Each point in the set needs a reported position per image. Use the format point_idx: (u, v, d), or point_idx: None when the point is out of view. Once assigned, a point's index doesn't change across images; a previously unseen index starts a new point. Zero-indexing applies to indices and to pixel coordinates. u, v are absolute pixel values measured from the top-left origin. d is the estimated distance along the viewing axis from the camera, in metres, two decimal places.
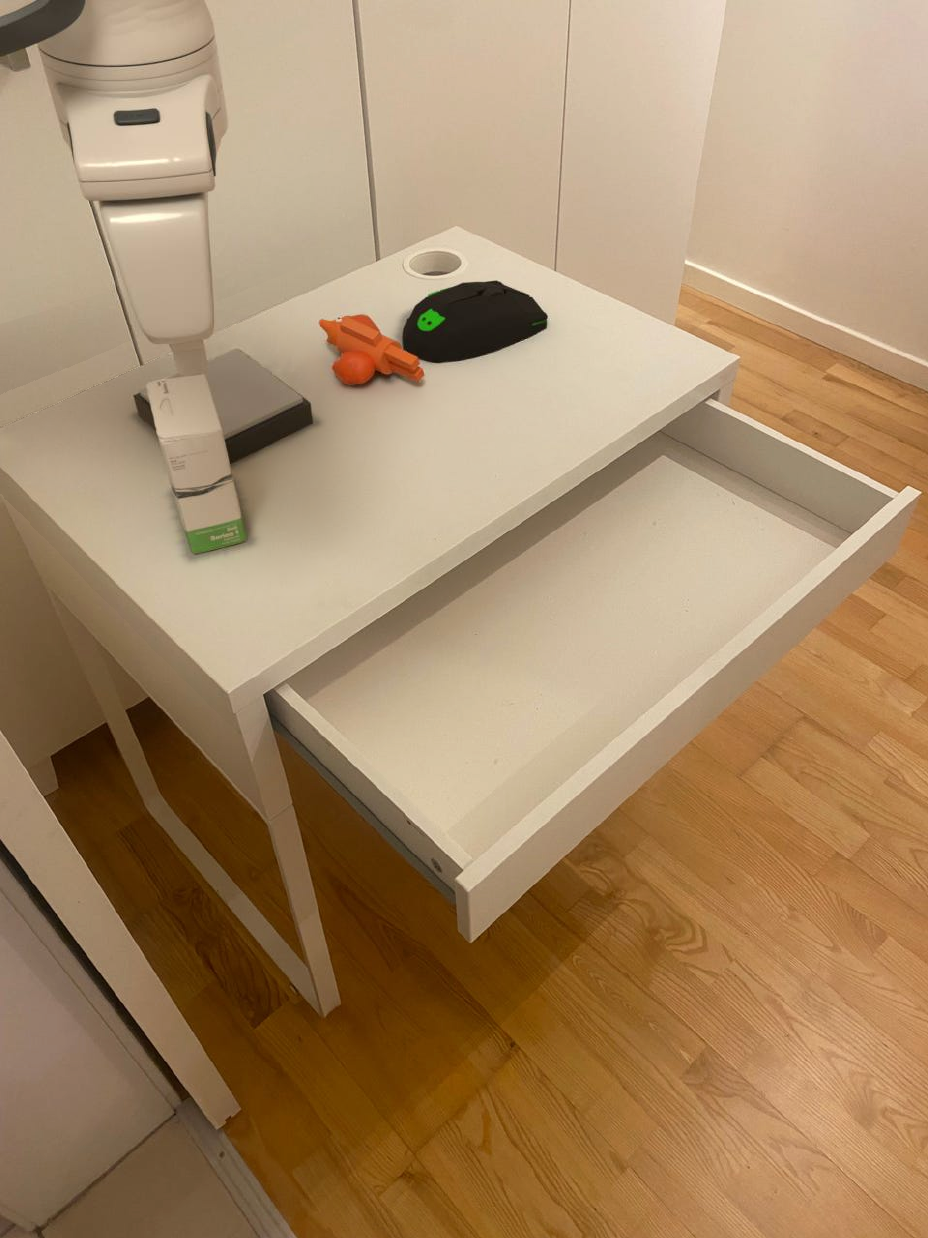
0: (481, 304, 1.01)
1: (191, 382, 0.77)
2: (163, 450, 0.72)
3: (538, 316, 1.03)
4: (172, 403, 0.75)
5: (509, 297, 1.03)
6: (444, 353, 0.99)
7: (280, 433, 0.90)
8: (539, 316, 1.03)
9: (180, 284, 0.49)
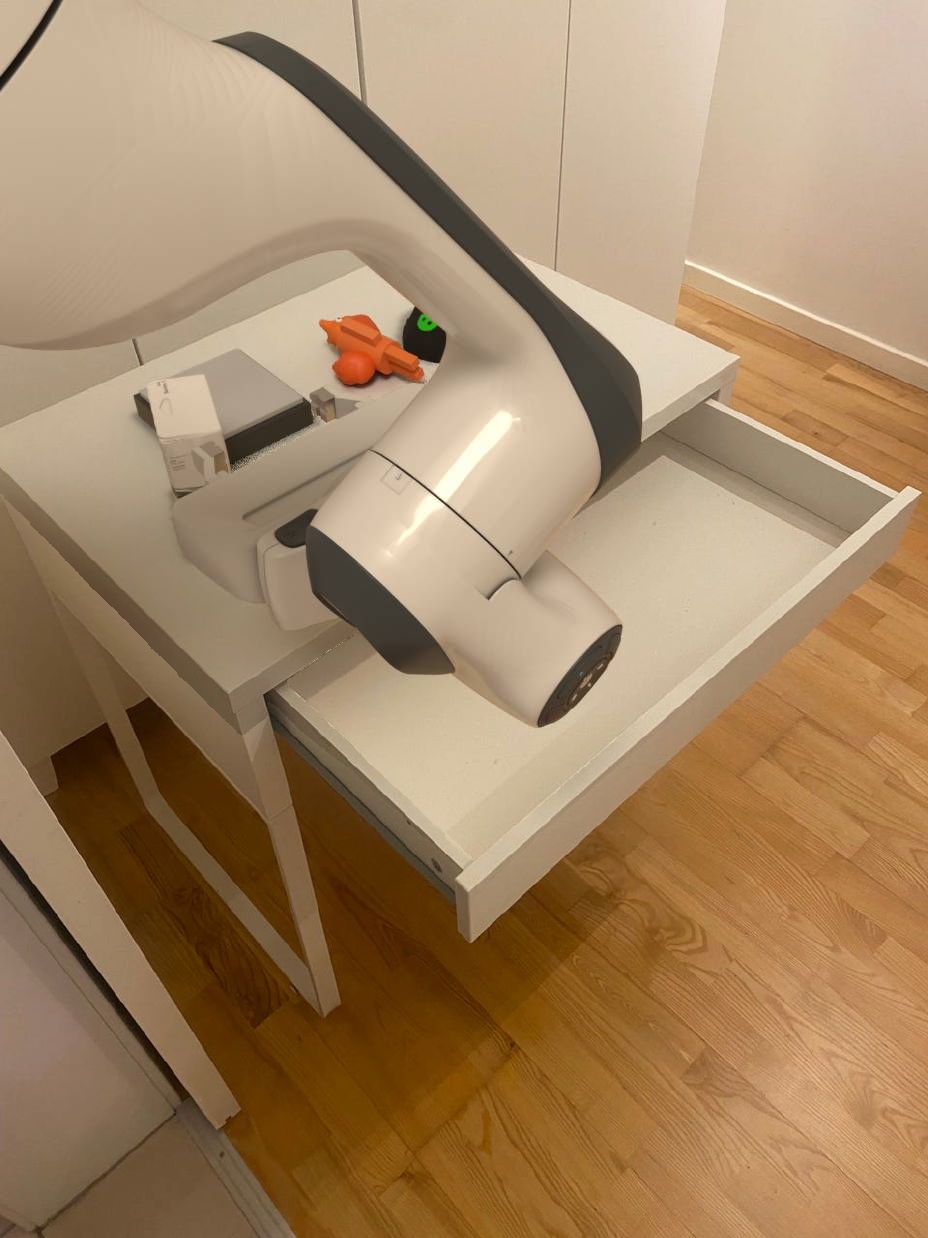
0: None
1: (191, 382, 0.77)
2: (163, 450, 0.72)
3: None
4: (172, 403, 0.75)
5: None
6: None
7: (280, 433, 0.90)
8: None
9: (205, 563, 0.57)
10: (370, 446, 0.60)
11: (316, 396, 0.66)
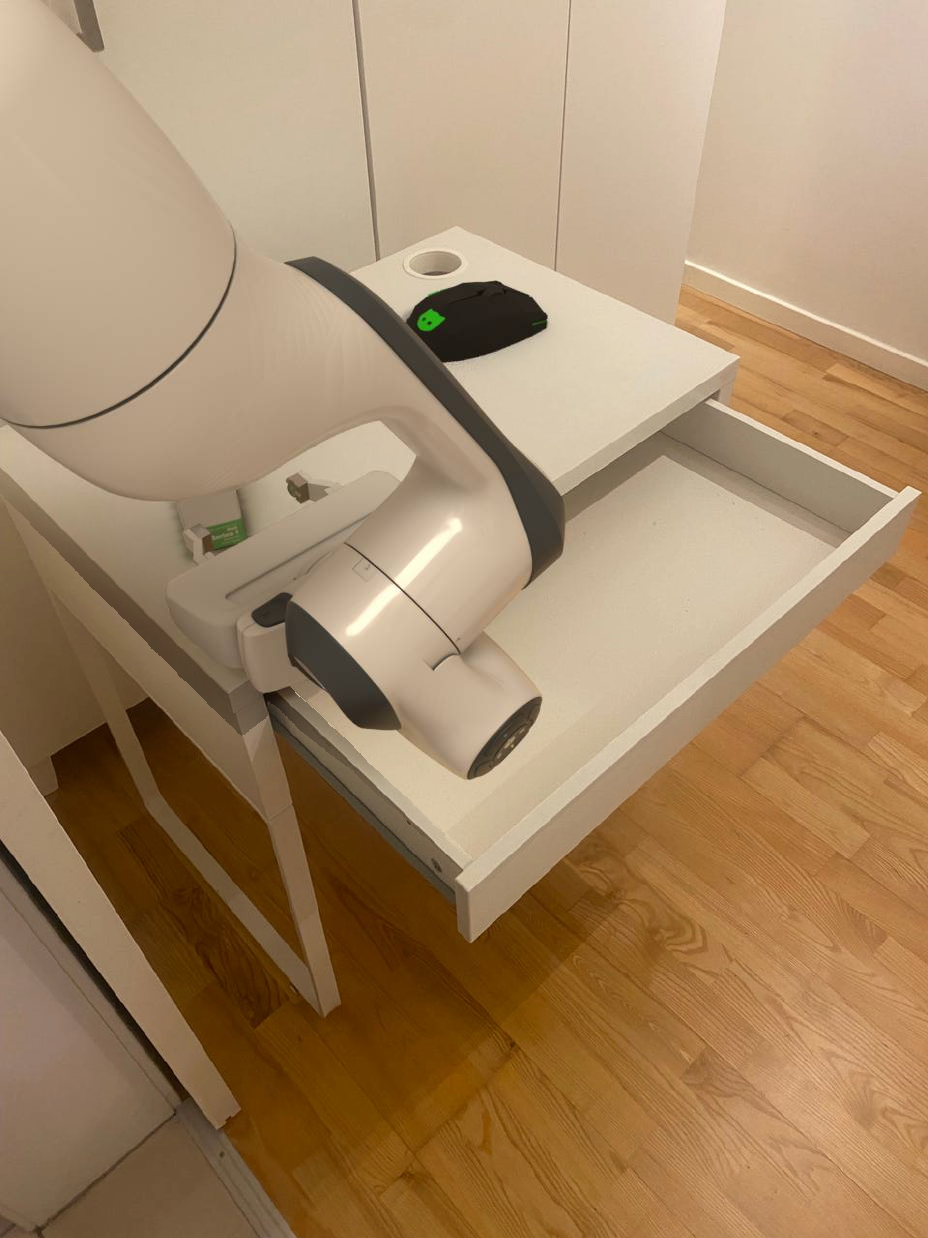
0: (481, 304, 1.01)
1: None
2: None
3: (538, 316, 1.03)
4: None
5: (509, 297, 1.03)
6: (444, 353, 0.99)
7: None
8: (539, 316, 1.03)
9: (193, 635, 0.67)
10: (336, 531, 0.71)
11: (291, 481, 0.76)
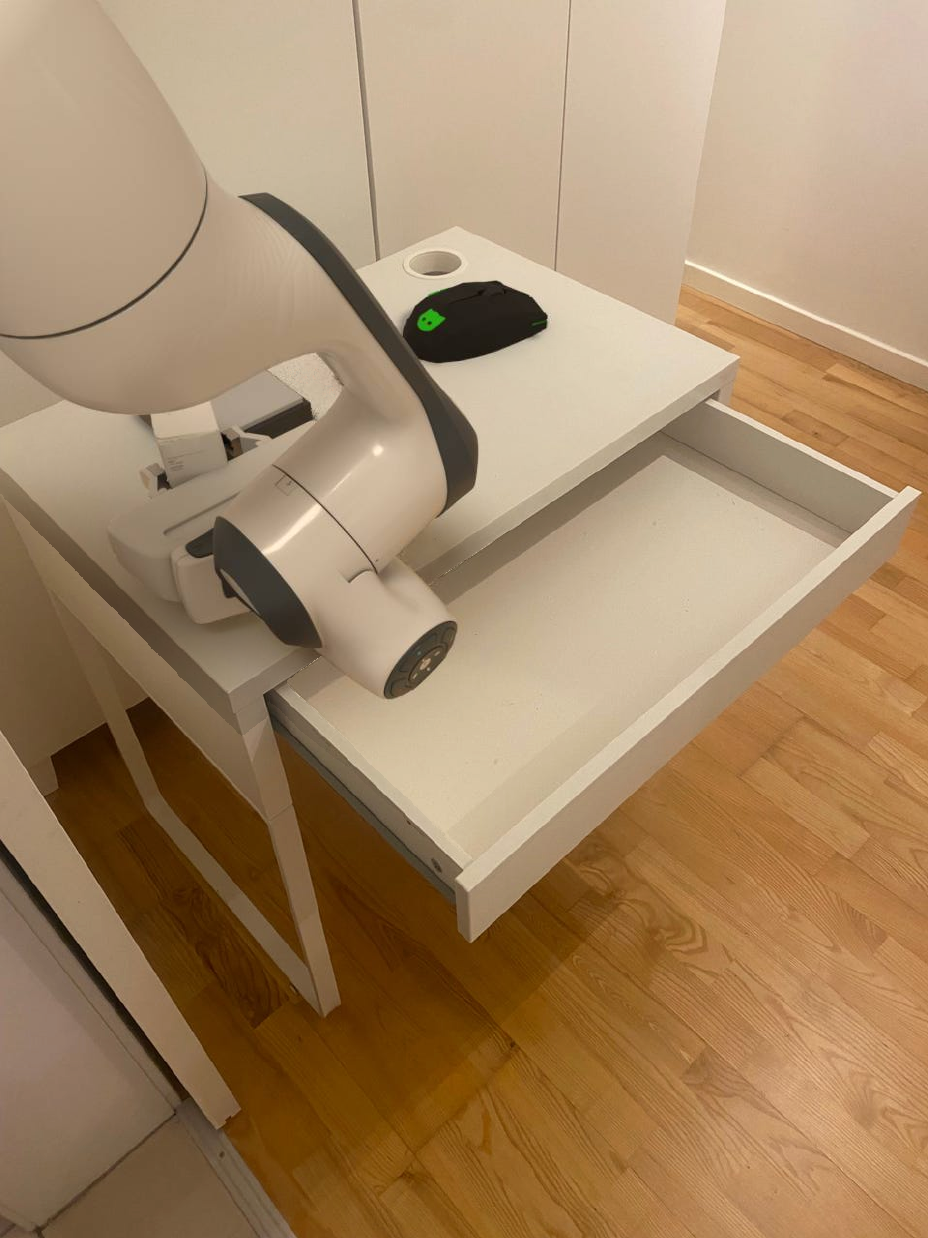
0: (481, 304, 1.01)
1: None
2: (161, 451, 0.72)
3: (538, 316, 1.03)
4: None
5: (509, 297, 1.03)
6: (444, 353, 0.99)
7: (280, 433, 0.90)
8: (539, 316, 1.03)
9: (134, 569, 0.71)
10: None
11: (225, 435, 0.79)
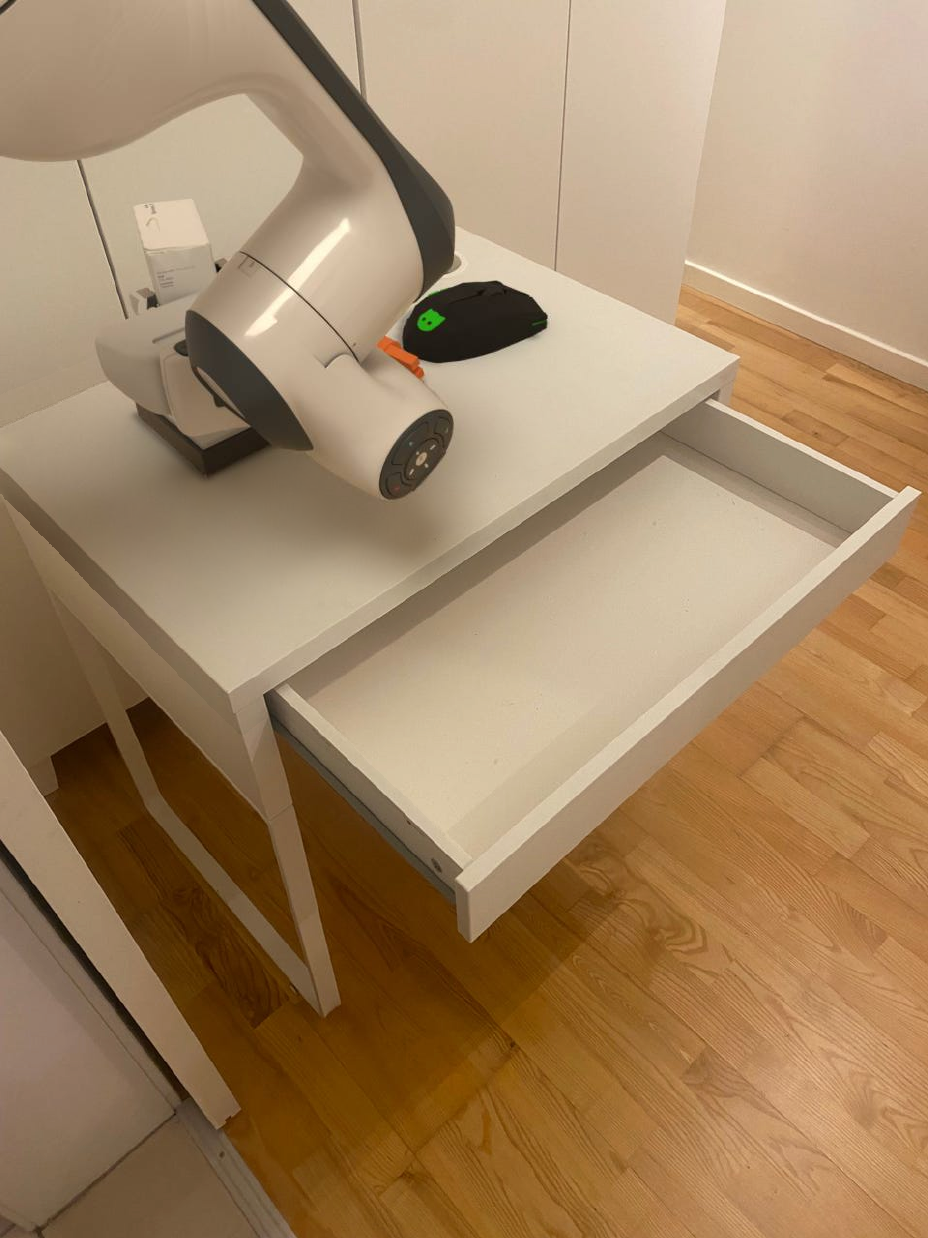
0: (481, 304, 1.01)
1: (180, 205, 0.75)
2: (150, 263, 0.70)
3: (538, 316, 1.03)
4: (160, 221, 0.73)
5: (509, 297, 1.03)
6: (444, 353, 0.99)
7: None
8: (539, 316, 1.03)
9: (122, 381, 0.69)
10: None
11: (217, 265, 0.77)
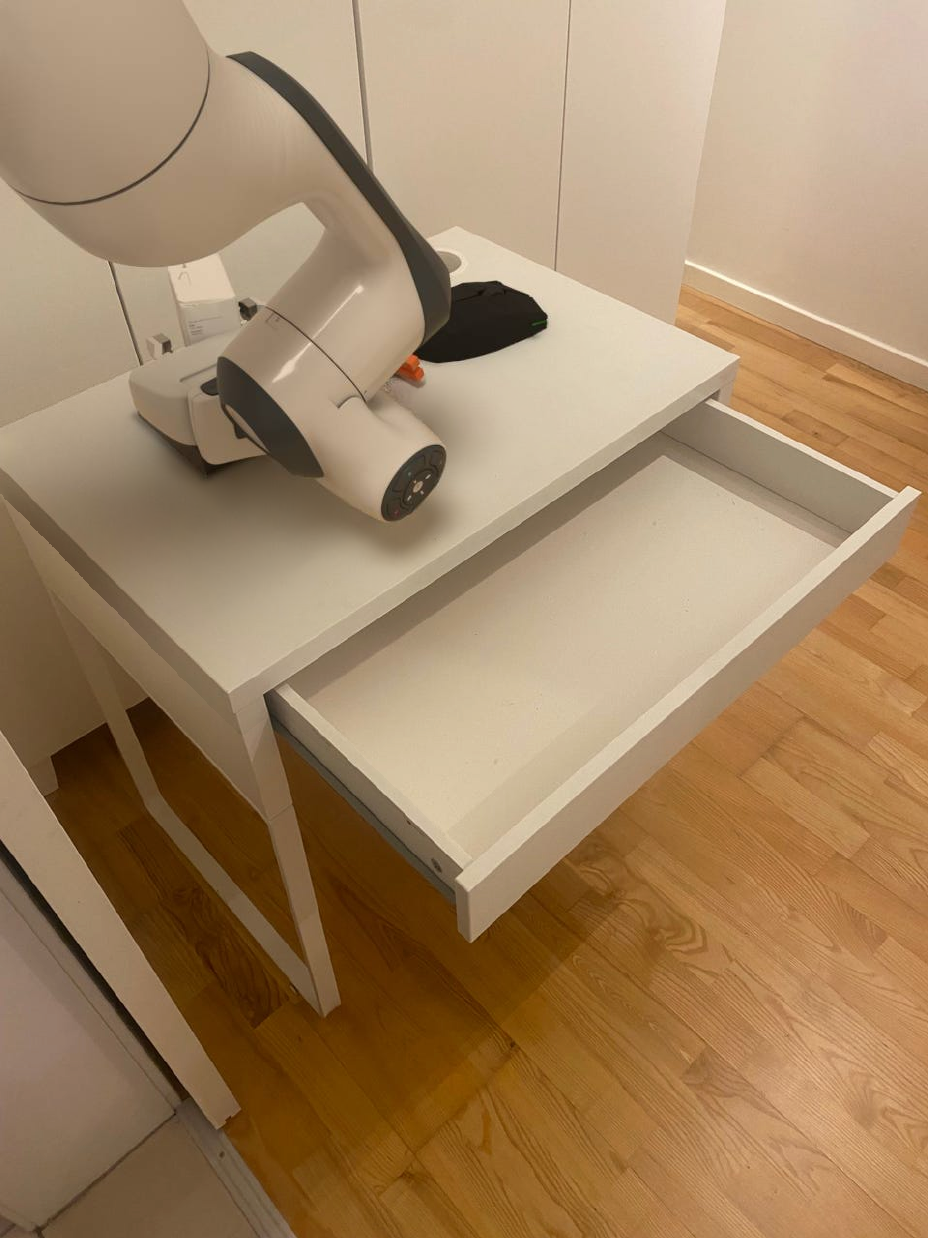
0: (481, 304, 1.01)
1: (207, 259, 0.84)
2: (183, 314, 0.79)
3: (538, 316, 1.03)
4: (190, 275, 0.82)
5: (509, 297, 1.03)
6: (444, 353, 0.99)
7: None
8: (539, 316, 1.03)
9: (153, 415, 0.77)
10: None
11: (243, 303, 0.87)
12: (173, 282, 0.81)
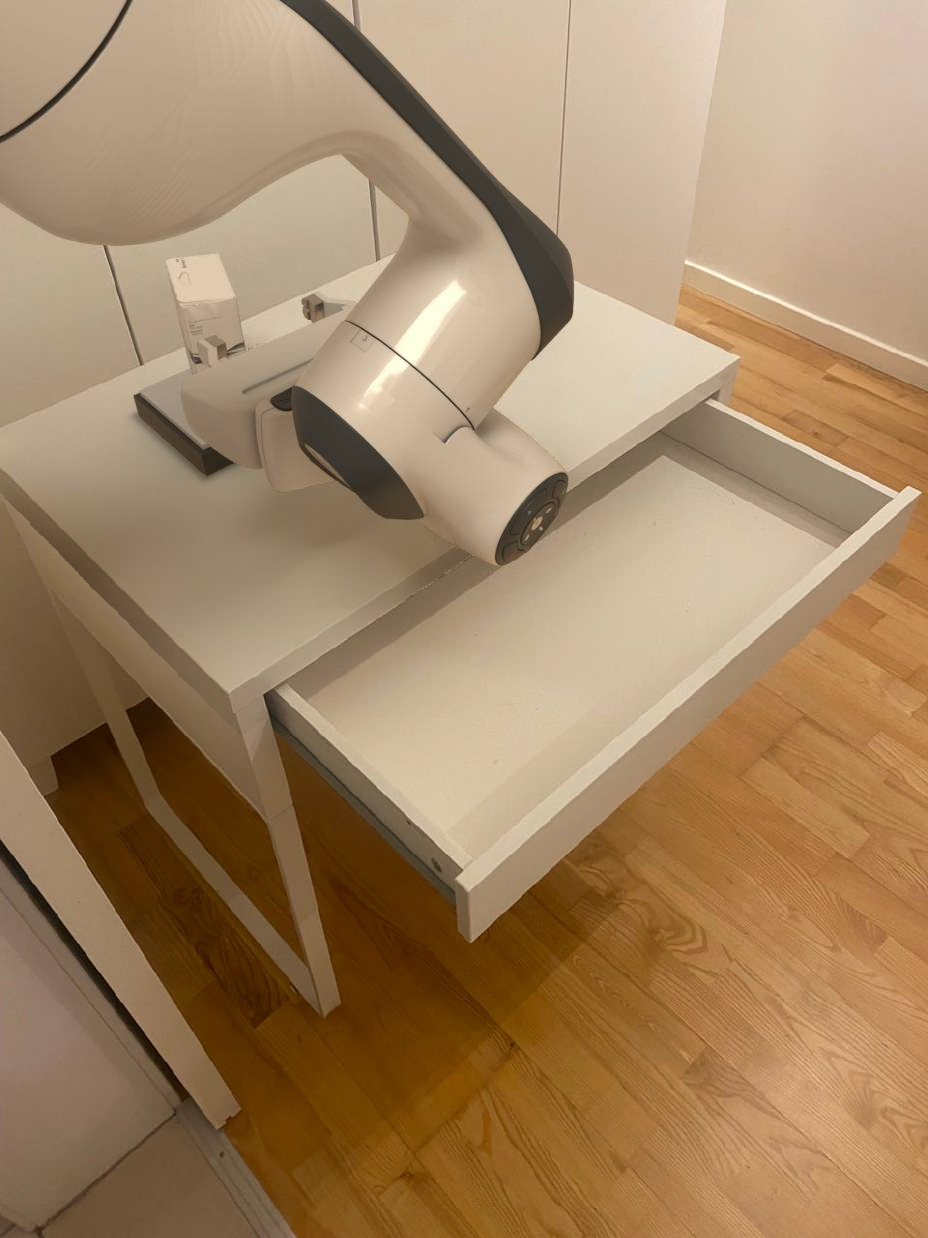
0: None
1: (207, 259, 0.84)
2: (183, 314, 0.79)
3: None
4: (190, 275, 0.82)
5: None
6: None
7: None
8: None
9: (209, 433, 0.65)
10: None
11: (307, 301, 0.74)
12: (173, 282, 0.81)
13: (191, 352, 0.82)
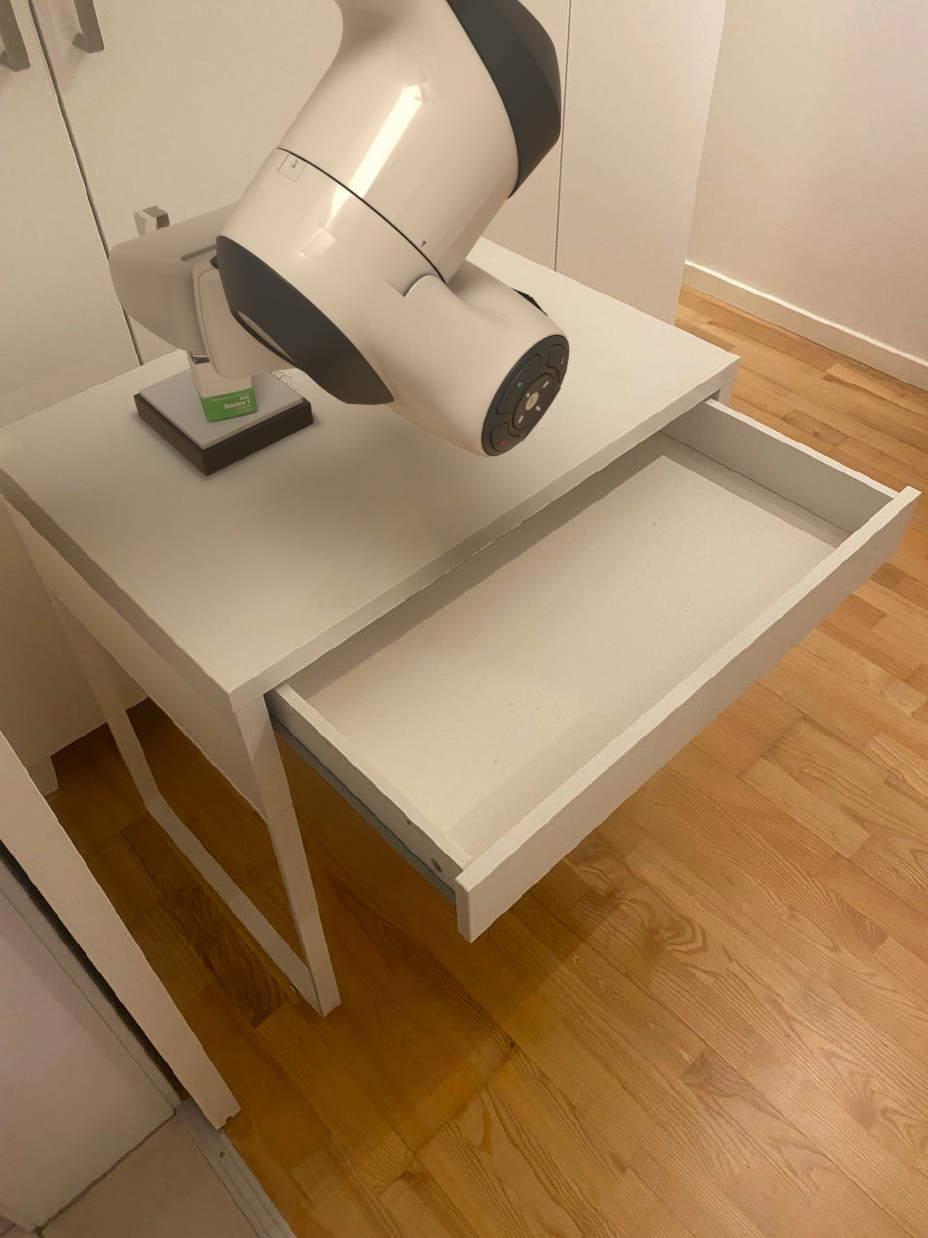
0: None
1: None
2: None
3: None
4: None
5: None
6: None
7: (280, 433, 0.90)
8: None
9: (143, 309, 0.55)
10: None
11: None
12: None
13: (191, 352, 0.82)
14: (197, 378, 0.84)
